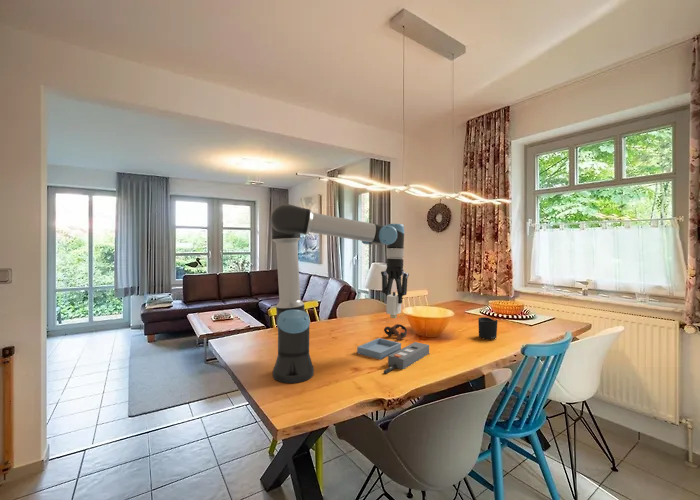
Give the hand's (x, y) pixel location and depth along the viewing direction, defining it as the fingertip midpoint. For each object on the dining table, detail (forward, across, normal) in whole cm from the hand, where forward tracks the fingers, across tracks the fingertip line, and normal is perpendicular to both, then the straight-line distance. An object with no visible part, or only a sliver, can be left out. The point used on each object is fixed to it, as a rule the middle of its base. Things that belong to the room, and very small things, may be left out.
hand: (393, 309), depth 143 cm
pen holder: (+19, -25, -55) cm, 64 cm away
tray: (+20, +6, +1) cm, 21 cm away
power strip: (+20, -9, +5) cm, 23 cm away
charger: (+4, 0, 0) cm, 4 cm away
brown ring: (+20, +12, -22) cm, 32 cm away
